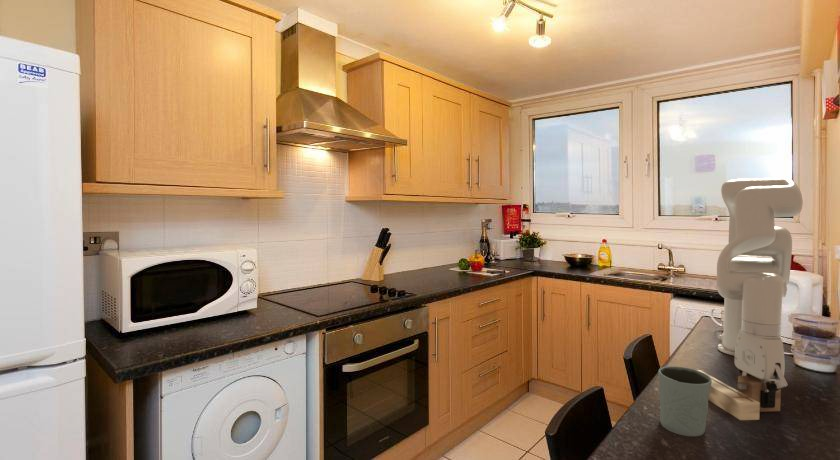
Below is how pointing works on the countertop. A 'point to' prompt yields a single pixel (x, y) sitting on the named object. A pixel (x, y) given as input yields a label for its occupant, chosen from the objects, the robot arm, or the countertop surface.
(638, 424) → the countertop surface
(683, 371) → the green cup
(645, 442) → the countertop surface
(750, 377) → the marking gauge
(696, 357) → the countertop surface
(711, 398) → the guide plank
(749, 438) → the countertop surface
